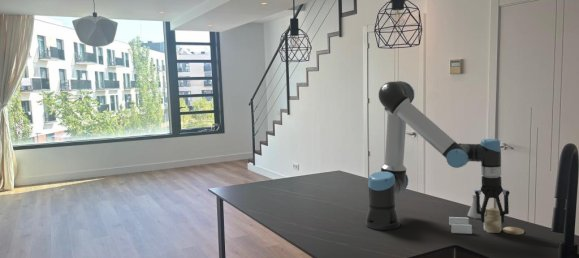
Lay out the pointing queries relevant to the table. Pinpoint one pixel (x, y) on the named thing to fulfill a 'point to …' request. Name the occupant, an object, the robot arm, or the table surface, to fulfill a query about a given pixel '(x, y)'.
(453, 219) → the channel
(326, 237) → the table surface
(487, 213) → the block
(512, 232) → the coaster
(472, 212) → the flask
